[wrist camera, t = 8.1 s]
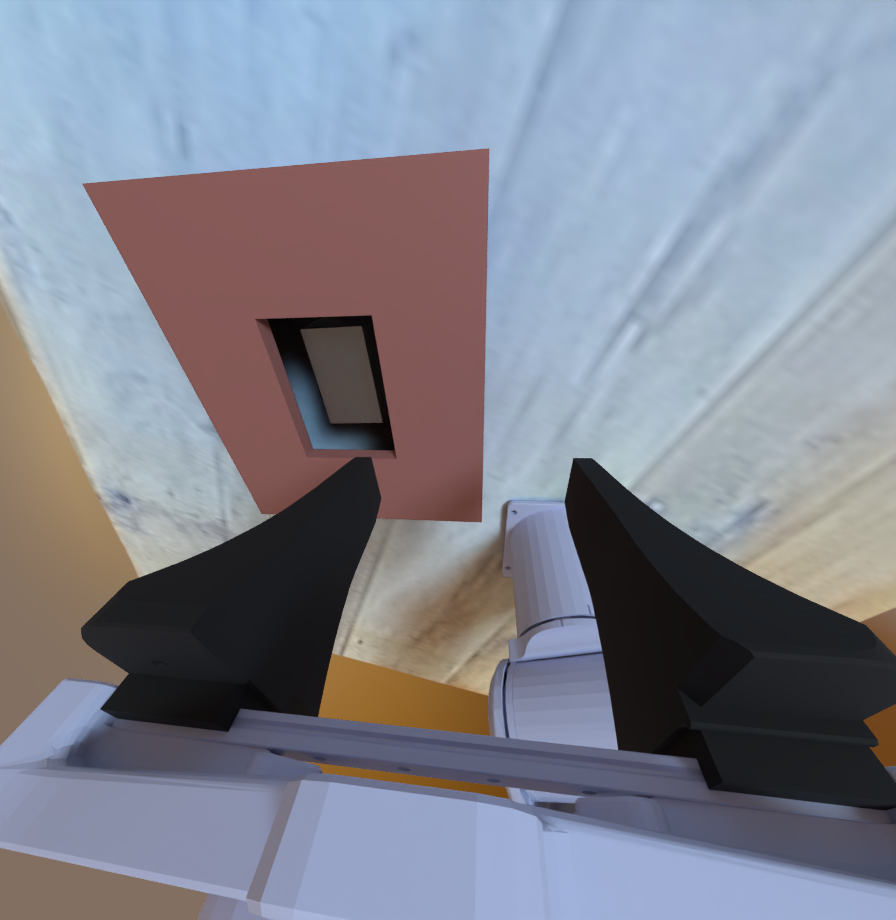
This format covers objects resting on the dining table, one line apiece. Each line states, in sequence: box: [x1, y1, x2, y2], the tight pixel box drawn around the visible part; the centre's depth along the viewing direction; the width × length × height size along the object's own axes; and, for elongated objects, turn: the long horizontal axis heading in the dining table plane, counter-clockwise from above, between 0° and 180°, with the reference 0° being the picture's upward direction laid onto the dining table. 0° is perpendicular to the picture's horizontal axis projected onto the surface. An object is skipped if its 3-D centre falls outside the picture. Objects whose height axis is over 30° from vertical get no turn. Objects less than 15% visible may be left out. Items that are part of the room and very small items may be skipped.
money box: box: [83, 149, 489, 522], centre depth 17 cm, size 16×14×6 cm
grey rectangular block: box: [300, 315, 388, 423], centre depth 18 cm, size 5×3×4 cm, turn 4°
